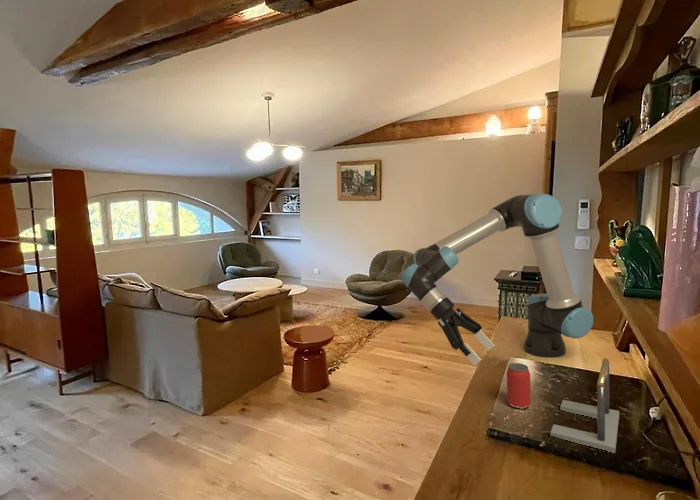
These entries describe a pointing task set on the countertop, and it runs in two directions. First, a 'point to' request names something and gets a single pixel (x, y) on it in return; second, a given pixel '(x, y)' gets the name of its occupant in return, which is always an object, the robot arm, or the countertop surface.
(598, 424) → the hook arm
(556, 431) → the grey u-shaped base plate
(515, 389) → the beer can
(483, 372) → the countertop surface
